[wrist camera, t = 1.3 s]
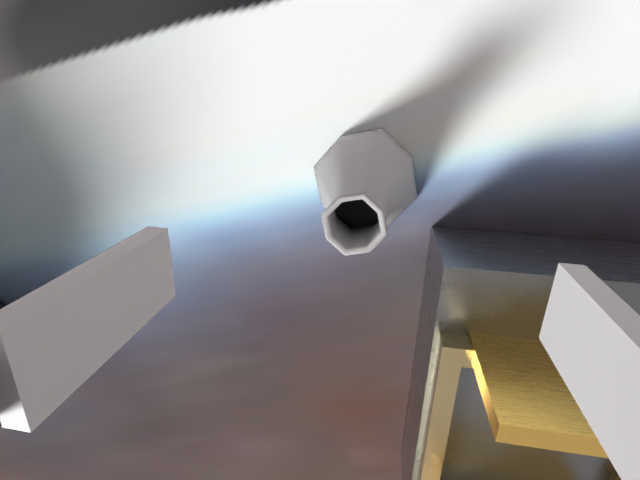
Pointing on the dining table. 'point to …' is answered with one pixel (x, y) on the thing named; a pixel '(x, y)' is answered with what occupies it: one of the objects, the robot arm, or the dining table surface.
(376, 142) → the flask
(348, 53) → the dining table surface
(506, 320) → the grey and yellow box
